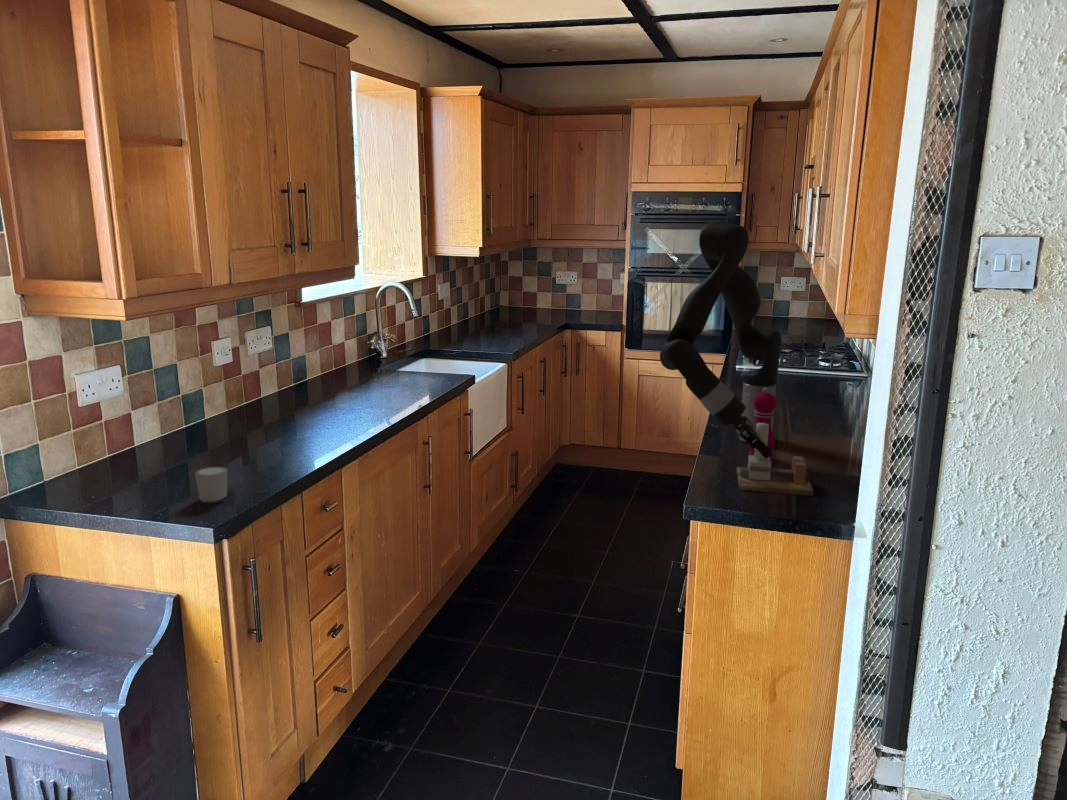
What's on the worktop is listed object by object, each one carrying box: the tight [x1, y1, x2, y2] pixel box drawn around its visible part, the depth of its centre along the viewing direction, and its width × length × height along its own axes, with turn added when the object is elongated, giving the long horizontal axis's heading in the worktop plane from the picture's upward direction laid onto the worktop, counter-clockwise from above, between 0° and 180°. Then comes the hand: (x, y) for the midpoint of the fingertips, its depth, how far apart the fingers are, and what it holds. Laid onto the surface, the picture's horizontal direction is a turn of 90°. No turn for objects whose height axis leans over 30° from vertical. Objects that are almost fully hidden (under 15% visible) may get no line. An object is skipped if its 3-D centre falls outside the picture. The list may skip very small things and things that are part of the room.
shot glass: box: [194, 466, 228, 502], centre depth 178 cm, size 7×7×7 cm
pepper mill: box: [747, 388, 777, 462], centre depth 213 cm, size 7×7×20 cm
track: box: [736, 455, 814, 496], centre depth 195 cm, size 15×17×6 cm
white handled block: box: [747, 423, 772, 480], centre depth 194 cm, size 6×5×13 cm
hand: (768, 453), depth 194 cm, fingers closed on white handled block, 3 cm apart
